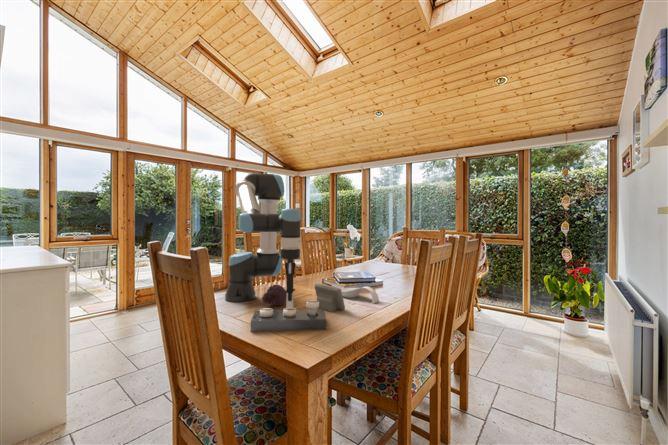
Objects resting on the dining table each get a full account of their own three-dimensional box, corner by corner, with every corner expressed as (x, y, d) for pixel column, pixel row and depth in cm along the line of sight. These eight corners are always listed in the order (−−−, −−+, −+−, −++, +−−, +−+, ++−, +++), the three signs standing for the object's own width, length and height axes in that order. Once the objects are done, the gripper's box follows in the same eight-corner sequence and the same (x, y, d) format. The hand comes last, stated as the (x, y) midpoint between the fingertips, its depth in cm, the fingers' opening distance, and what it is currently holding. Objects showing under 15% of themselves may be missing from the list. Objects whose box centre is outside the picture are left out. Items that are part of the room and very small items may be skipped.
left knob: (258, 326, 117) (258, 311, 117) (260, 322, 122) (260, 307, 122) (272, 326, 117) (272, 311, 117) (273, 321, 122) (273, 307, 122)
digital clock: (346, 310, 141) (347, 287, 140) (331, 314, 135) (331, 290, 135) (326, 302, 153) (326, 281, 153) (311, 305, 148) (311, 283, 148)
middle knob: (282, 325, 118) (282, 310, 118) (283, 321, 123) (283, 307, 123) (295, 325, 118) (296, 310, 118) (296, 321, 123) (296, 306, 123)
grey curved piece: (334, 296, 166) (334, 283, 165) (348, 293, 174) (348, 280, 174) (370, 305, 150) (370, 291, 149) (383, 301, 158) (383, 287, 158)
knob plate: (250, 331, 113) (250, 321, 113) (255, 320, 125) (255, 311, 125) (326, 329, 116) (326, 319, 116) (323, 319, 128) (323, 309, 128)
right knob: (306, 318, 119) (306, 303, 119) (306, 313, 124) (306, 299, 124) (319, 317, 119) (319, 302, 119) (318, 313, 124) (318, 299, 124)
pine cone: (269, 312, 136) (269, 289, 136) (254, 308, 142) (254, 286, 142) (296, 303, 151) (296, 283, 151) (281, 299, 157) (281, 280, 156)
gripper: (300, 250, 114) (299, 313, 114) (300, 246, 127) (299, 303, 127) (279, 250, 113) (279, 313, 113) (281, 246, 126) (281, 303, 126)
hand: (289, 308), depth 120 cm, fingers closed
